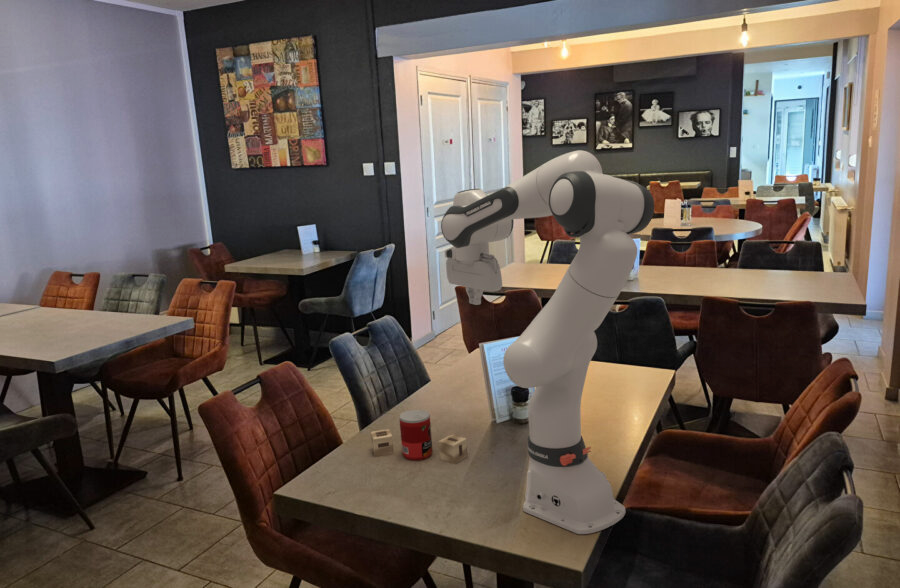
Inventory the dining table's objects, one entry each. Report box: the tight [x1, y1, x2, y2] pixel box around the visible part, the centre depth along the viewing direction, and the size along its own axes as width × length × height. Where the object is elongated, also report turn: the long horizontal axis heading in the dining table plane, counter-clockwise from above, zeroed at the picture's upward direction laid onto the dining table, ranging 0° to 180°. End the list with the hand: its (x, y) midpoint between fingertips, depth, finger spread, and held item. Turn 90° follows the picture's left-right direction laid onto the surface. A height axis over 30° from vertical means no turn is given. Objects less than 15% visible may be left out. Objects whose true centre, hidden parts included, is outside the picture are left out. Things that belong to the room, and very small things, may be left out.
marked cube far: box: [370, 428, 395, 457], centre depth 173 cm, size 5×5×5 cm
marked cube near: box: [438, 434, 468, 465], centre depth 166 cm, size 5×5×5 cm
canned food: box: [399, 409, 433, 461], centre depth 169 cm, size 8×8×11 cm
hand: (475, 303), depth 172 cm, fingers closed
